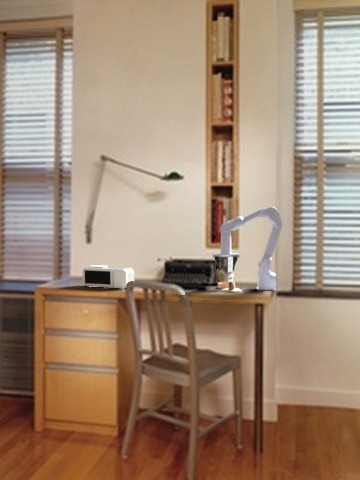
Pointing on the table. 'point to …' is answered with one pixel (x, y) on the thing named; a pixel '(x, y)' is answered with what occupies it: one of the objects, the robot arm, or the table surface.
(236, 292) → the mat
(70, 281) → the table surface
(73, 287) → the table surface
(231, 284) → the lid
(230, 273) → the coffee box
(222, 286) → the bowl
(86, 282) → the alarm clock
